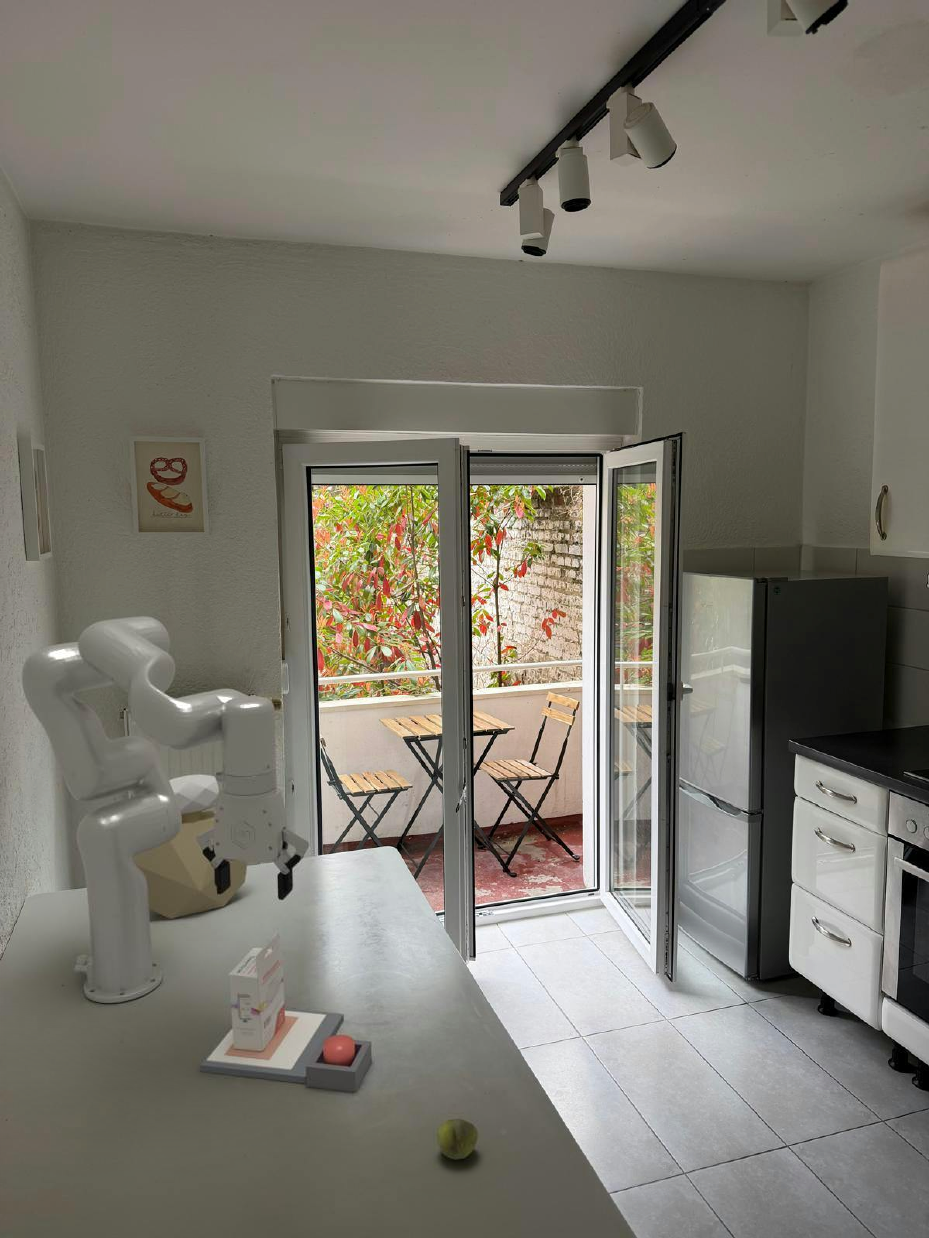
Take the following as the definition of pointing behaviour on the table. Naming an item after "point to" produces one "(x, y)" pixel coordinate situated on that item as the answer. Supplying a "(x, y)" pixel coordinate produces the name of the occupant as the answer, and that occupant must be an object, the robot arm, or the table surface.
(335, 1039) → the button
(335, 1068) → the button housing
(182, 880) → the perfume bottle
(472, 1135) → the lime
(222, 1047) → the sketch board
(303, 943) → the table surface
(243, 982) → the ink cartridge box
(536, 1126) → the table surface
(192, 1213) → the table surface
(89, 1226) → the table surface
